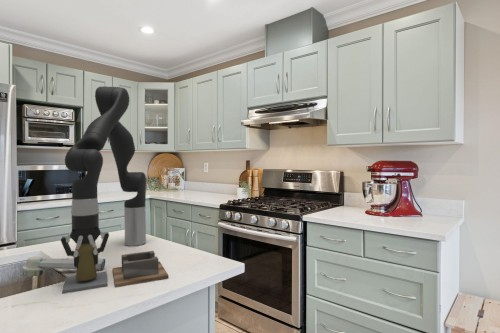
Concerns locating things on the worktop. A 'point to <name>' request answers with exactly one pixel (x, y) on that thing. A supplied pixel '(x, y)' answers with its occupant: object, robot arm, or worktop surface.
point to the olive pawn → (86, 263)
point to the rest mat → (85, 283)
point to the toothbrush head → (52, 265)
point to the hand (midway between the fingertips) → (86, 266)
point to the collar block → (139, 269)
